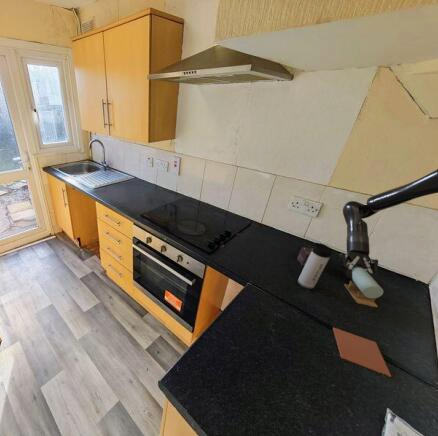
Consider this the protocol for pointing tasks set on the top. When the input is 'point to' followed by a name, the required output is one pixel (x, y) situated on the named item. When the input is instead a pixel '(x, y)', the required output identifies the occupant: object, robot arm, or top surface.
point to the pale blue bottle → (366, 283)
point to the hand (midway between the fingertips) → (358, 280)
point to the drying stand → (359, 295)
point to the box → (304, 255)
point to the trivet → (360, 351)
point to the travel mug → (314, 265)
